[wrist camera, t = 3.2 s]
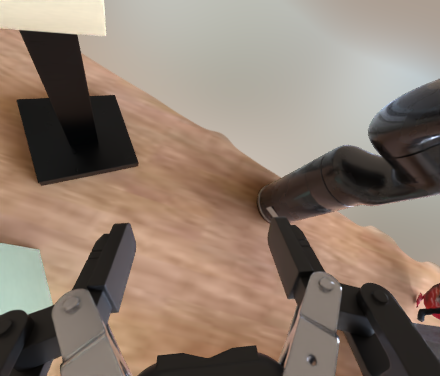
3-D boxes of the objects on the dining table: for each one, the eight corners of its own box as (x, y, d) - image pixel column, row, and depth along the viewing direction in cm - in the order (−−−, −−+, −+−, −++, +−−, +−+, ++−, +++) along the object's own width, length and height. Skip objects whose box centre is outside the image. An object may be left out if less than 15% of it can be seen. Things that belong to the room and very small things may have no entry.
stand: (137, 166, 38) (178, -90, 11) (41, 185, 31) (-537, -375, 4) (114, 100, 40) (99, -254, 13) (20, 105, 34) (-445, -617, 6)
